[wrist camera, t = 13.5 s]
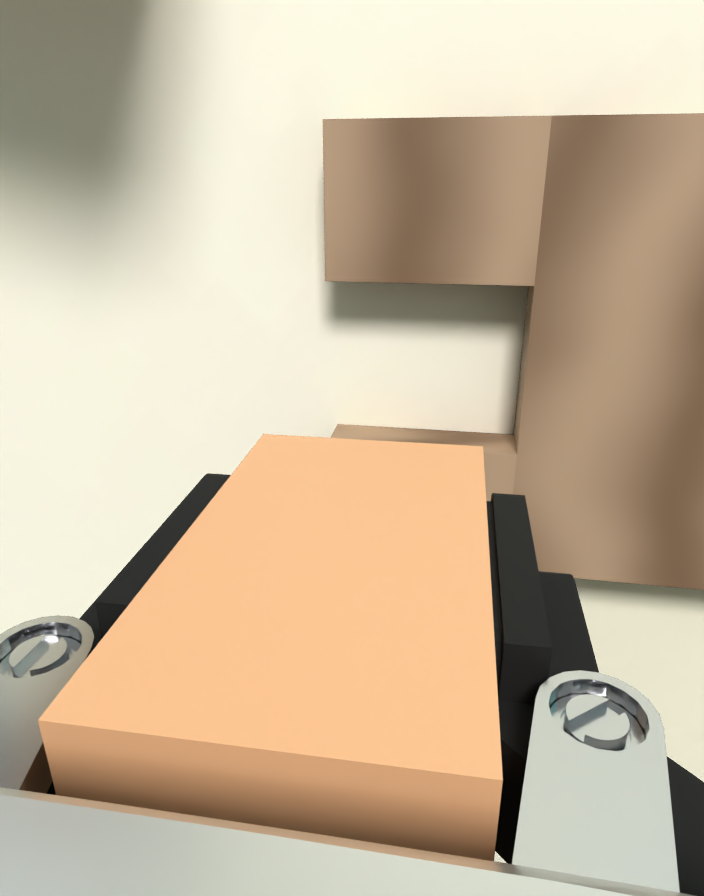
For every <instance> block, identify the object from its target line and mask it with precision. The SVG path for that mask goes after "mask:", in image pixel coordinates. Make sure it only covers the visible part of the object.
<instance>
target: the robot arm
mask: <svg viewBox="0 0 704 896" xmlns="http://www.w3.org/2000/svg"><path fill="white" fill-rule="evenodd" d="M230 476H231V475H223V474H206V475H205V476H204V477H203V478H202V479H201V480H200V482H199V483H198V484H197V485H196V486H195V487H194V489H193V490H192V491H191V492H190V493H189V494H188V495H187V497H186V498H185V499H184V500H183V501H182V502H181V503H180V505H179V506H178V507H177V508H176V509H175V510H174V511H173V513H172V514H171V515H170V516H169V517H168V518H167V519H166V521H165V522H164V523H163V524H162V525H161V526H160V527H159V529H158V530H157V531H156V532H155V533H154V534H153V536H152V537H151V538H150V539H149V540H148V541H147V542H146V543H145V544H144V545H143V547H142V548H141V549H140V550H139V551H138V552H137V554H136V555H135V556H134V557H133V558H132V559H131V560H130V562H129V563H128V564H127V565H126V566H125V567H124V568H123V570H122V571H121V572H120V573H119V574H118V575H117V576H116V578H115V579H114V580H113V581H112V582H111V583H110V584H109V586H108V587H107V588H106V589H105V590H104V591H103V592H102V594H101V595H100V596H99V597H98V598H97V599H96V600H95V602H94V603H93V604H92V605H91V606H90V607H89V608H88V610H87V611H86V612H85V613H84V614H83V615H82V616H81V618H80V619H78V618H75V617H70V616H49V617H41V618H37V619H34V620H30V621H26V622H23V623H21V624H19V625H17V626H15V627H12V628H10V629H8V630H6V631H5V632H3V633H2V634H0V896H704V782H703V781H701V780H700V779H698V778H697V777H696V776H694V775H693V774H691V773H690V772H688V771H687V770H686V769H684V768H683V767H681V766H680V765H678V764H677V763H676V762H674V761H673V760H671V759H670V758H668V757H667V755H666V744H665V734H664V727H663V724H662V721H661V717H660V714H659V713H658V711H657V710H656V709H655V707H654V706H653V705H652V703H651V702H650V700H649V699H647V698H646V697H645V696H644V695H643V694H641V693H640V692H639V691H638V690H637V689H635V688H634V687H632V686H630V685H628V684H626V683H625V682H623V681H621V680H619V679H617V678H614V677H611V676H608V675H605V674H601V673H599V671H598V667H597V663H596V659H595V656H594V652H593V648H592V644H591V641H590V637H589V633H588V629H587V625H586V622H585V618H584V614H583V610H582V607H581V603H580V599H579V595H578V591H577V588H576V584H575V580H574V578H573V575H571V574H566V573H554V572H542V571H539V570H538V565H537V559H536V554H535V548H534V543H533V537H532V532H531V526H530V520H529V515H528V509H527V504H526V498H525V495H515V494H501V493H492V495H491V501H486V504H487V521H488V538H489V555H490V571H491V588H492V605H493V622H494V639H495V656H496V673H497V690H498V707H499V723H500V740H501V757H502V774H503V784H502V792H501V801H500V810H499V819H498V828H497V836H496V845H495V851H496V852H497V853H498V854H499V855H500V856H501V857H502V858H503V859H504V860H505V861H506V862H507V863H508V864H507V863H501V862H494V861H488V860H481V859H475V858H469V857H462V856H456V855H449V854H443V853H436V852H430V851H424V850H417V849H411V848H404V847H398V846H391V845H385V844H379V843H372V842H366V841H359V840H353V839H347V838H340V837H334V836H327V835H321V834H314V833H307V832H301V831H294V830H288V829H281V828H274V827H268V826H261V825H254V824H248V823H241V822H234V821H228V820H221V819H215V818H208V817H201V816H194V815H188V814H181V813H174V812H168V811H161V810H154V809H147V808H141V807H134V806H127V805H120V804H114V803H107V802H100V801H93V800H87V799H80V798H73V797H66V796H59V795H56V792H55V788H54V784H53V780H52V776H51V772H50V768H49V764H48V760H47V755H46V751H45V747H44V743H43V739H42V735H41V731H40V727H39V723H38V719H39V718H40V717H41V716H42V714H43V713H44V712H45V710H46V709H47V708H48V707H49V705H50V704H51V703H52V702H53V700H54V699H55V698H56V697H57V695H58V694H59V693H60V691H61V690H62V689H63V688H64V686H65V685H66V684H67V683H68V681H69V680H70V679H71V677H72V676H73V675H74V674H75V672H76V671H77V670H78V669H79V667H80V666H81V665H82V664H83V662H84V661H85V660H86V658H87V657H88V656H89V655H90V653H91V652H92V651H93V650H94V648H95V647H96V646H97V645H98V643H99V642H100V641H101V639H102V638H103V637H104V636H105V634H106V633H107V632H108V631H109V629H110V628H111V627H112V625H113V624H114V623H115V622H116V620H117V619H118V618H119V617H120V615H121V614H122V613H123V612H124V610H125V609H126V608H127V606H128V605H129V604H130V603H131V601H132V600H133V599H134V598H135V596H136V595H137V594H138V592H139V591H140V590H141V589H142V587H143V586H144V585H145V584H146V582H147V581H148V580H149V579H150V577H151V576H152V575H153V573H154V572H155V571H156V570H157V568H158V567H159V566H160V565H161V563H162V562H163V561H164V560H165V558H166V557H167V556H168V554H169V553H170V552H171V551H172V549H173V548H174V547H175V546H176V544H177V543H178V542H179V540H180V539H181V538H182V537H183V535H184V534H185V533H186V532H187V530H188V529H189V528H190V527H191V525H192V524H193V523H194V521H195V520H196V519H197V518H198V516H199V515H200V514H201V513H202V511H203V510H204V509H205V507H206V506H207V505H208V504H209V502H210V501H211V500H212V499H213V497H214V496H215V495H216V494H217V492H218V491H219V490H220V488H221V487H222V486H223V485H224V483H225V482H226V481H227V480H228V478H229V477H230Z"/></svg>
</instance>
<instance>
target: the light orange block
mask: <svg viewBox="0 0 704 896" xmlns="http://www.w3.org/2000/svg"><path fill="white" fill-rule="evenodd" d="M38 723H39V727H40V731H41V735H42V739H43V743H44V747H45V751H46V755H47V760H48V764H49V768H50V772H51V776H52V780H53V784H54V788H55V792H56V795H59V796H66V797H73V798H80V799H87V800H93V801H100V802H107V803H114V804H120V805H127V806H134V807H141V808H147V809H154V810H161V811H168V812H174V813H181V814H188V815H194V816H201V817H208V818H215V819H221V820H228V821H234V822H241V823H248V824H254V825H261V826H268V827H274V828H281V829H288V830H294V831H301V832H307V833H314V834H321V835H327V836H334V837H340V838H347V839H353V840H359V841H366V842H372V843H379V844H385V845H391V846H398V847H404V848H411V849H417V850H424V851H430V852H436V853H443V854H449V855H456V856H462V857H469V858H475V859H481V860H488V861H494V854H495V845H496V836H497V828H498V819H499V810H500V801H501V792H502V784H503V774H502V757H501V740H500V723H499V707H498V690H497V673H496V656H495V639H494V622H493V605H492V588H491V571H490V555H489V538H488V521H487V504H486V487H485V470H484V453H483V446H468V445H450V444H432V443H413V442H395V441H377V440H359V439H341V438H323V437H305V436H287V435H269V434H263V435H262V436H261V438H260V439H259V440H258V442H257V443H256V444H255V445H254V447H253V448H252V449H251V450H250V452H249V453H248V454H247V455H246V457H245V458H244V459H243V461H242V462H241V463H240V464H239V466H238V467H237V468H236V469H235V471H234V472H233V473H232V475H231V476H230V477H229V478H228V480H227V481H226V482H225V483H224V485H223V486H222V487H221V488H220V490H219V491H218V492H217V494H216V495H215V496H214V497H213V499H212V500H211V501H210V502H209V504H208V505H207V506H206V507H205V509H204V510H203V511H202V513H201V514H200V515H199V516H198V518H197V519H196V520H195V521H194V523H193V524H192V525H191V527H190V528H189V529H188V530H187V532H186V533H185V534H184V535H183V537H182V538H181V539H180V540H179V542H178V543H177V544H176V546H175V547H174V548H173V549H172V551H171V552H170V553H169V554H168V556H167V557H166V558H165V560H164V561H163V562H162V563H161V565H160V566H159V567H158V568H157V570H156V571H155V572H154V573H153V575H152V576H151V577H150V579H149V580H148V581H147V582H146V584H145V585H144V586H143V587H142V589H141V590H140V591H139V592H138V594H137V595H136V596H135V598H134V599H133V600H132V601H131V603H130V604H129V605H128V606H127V608H126V609H125V610H124V612H123V613H122V614H121V615H120V617H119V618H118V619H117V620H116V622H115V623H114V624H113V625H112V627H111V628H110V629H109V631H108V632H107V633H106V634H105V636H104V637H103V638H102V639H101V641H100V642H99V643H98V645H97V646H96V647H95V648H94V650H93V651H92V652H91V653H90V655H89V656H88V657H87V658H86V660H85V661H84V662H83V664H82V665H81V666H80V667H79V669H78V670H77V671H76V672H75V674H74V675H73V676H72V677H71V679H70V680H69V681H68V683H67V684H66V685H65V686H64V688H63V689H62V690H61V691H60V693H59V694H58V695H57V697H56V698H55V699H54V700H53V702H52V703H51V704H50V705H49V707H48V708H47V709H46V710H45V712H44V713H43V714H42V716H41V717H40V718H39V719H38Z"/></svg>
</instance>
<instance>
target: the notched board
mask: <svg viewBox="0 0 704 896" xmlns="http://www.w3.org/2000/svg"><path fill="white" fill-rule="evenodd" d="M323 165H324V226H325V281H346V282H388V283H430V284H472V285H514V286H529V288H528V298H527V308H526V318H525V328H524V338H523V348H522V358H521V368H520V378H519V389H518V399H517V409H516V419H515V429H514V435H511V434H494V433H477V432H460V431H443V430H426V429H409V428H392V427H374V426H357V425H340V424H338V425H337V427H336V429H335V431H334V432H333V434H332V436H331V438H341V439H359V440H377V441H395V442H413V443H432V444H450V445H468V446H483V453H484V470H485V487H486V501H491V495H492V493H501V494H515V495H525V498H526V504H527V509H528V515H529V520H530V526H531V532H532V537H533V543H534V548H535V554H536V559H537V565H538V570H539V571H542V572H554V573H566V574H571V575H573V578H579V579H590V580H601V581H612V582H623V583H634V584H645V585H656V586H667V587H678V588H689V589H700V590H704V113H698V114H633V115H569V116H504V117H439V118H375V119H323Z"/></svg>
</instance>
